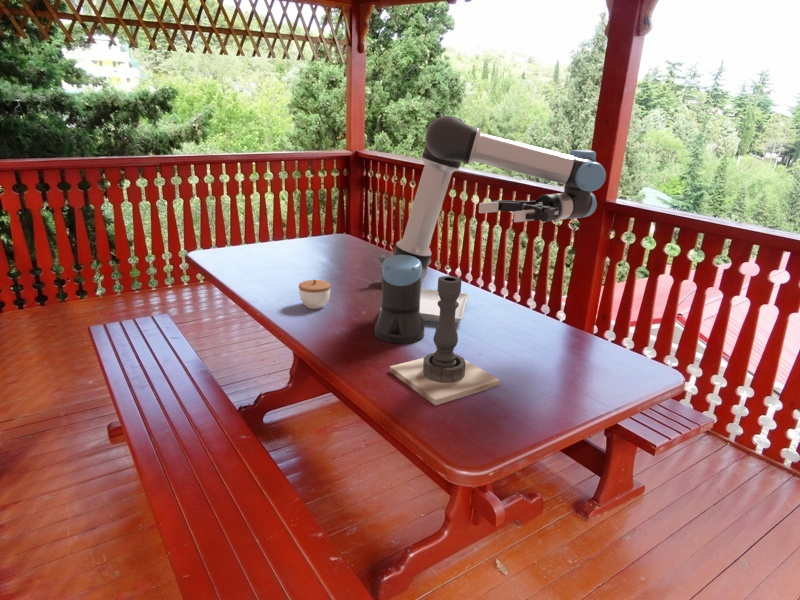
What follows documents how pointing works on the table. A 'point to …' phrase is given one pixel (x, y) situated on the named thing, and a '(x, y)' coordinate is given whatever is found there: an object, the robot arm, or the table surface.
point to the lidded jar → (314, 293)
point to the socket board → (443, 388)
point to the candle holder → (446, 322)
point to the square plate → (432, 310)
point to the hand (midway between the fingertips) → (496, 212)
